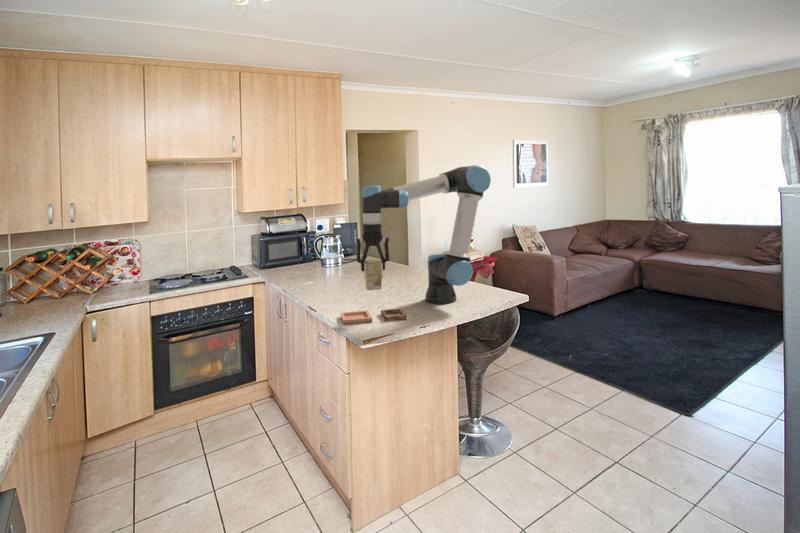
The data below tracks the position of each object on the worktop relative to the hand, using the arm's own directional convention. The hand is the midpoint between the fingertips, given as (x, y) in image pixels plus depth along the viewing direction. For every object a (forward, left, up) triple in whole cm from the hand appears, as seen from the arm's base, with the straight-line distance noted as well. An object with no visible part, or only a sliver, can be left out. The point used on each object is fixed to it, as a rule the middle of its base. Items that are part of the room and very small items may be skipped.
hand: (373, 278), depth 183 cm
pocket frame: (-8, 0, -18) cm, 19 cm away
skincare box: (0, 0, -5) cm, 5 cm away
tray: (+8, -1, -18) cm, 19 cm away
